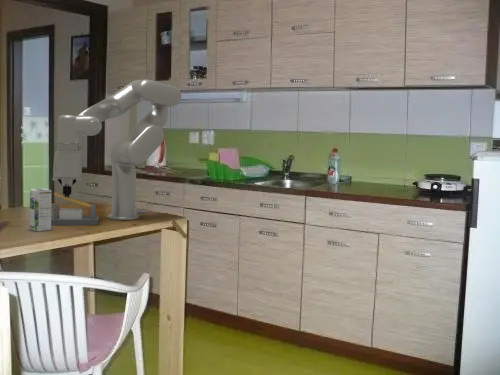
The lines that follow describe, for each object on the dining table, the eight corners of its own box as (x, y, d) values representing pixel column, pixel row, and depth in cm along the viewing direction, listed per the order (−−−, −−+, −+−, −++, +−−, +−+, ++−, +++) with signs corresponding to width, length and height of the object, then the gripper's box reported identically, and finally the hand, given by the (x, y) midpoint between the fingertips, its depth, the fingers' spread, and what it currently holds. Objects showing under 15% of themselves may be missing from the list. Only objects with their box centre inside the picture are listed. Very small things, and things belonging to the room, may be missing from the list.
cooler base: (98, 220, 213) (98, 202, 212) (98, 225, 203) (98, 206, 202) (50, 220, 208) (50, 202, 207) (47, 225, 198) (47, 206, 197)
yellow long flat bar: (93, 208, 208) (95, 205, 208) (93, 209, 205) (95, 207, 205) (54, 194, 204) (55, 191, 204) (53, 195, 201) (54, 192, 201)
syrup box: (28, 229, 190) (28, 188, 189) (45, 227, 194) (45, 187, 193) (35, 231, 186) (35, 190, 185) (52, 230, 190) (52, 189, 189)
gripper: (88, 148, 207) (87, 195, 209) (47, 146, 203) (47, 194, 205) (88, 149, 200) (87, 198, 202) (45, 147, 196) (45, 197, 198)
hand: (67, 196), depth 203 cm, fingers closed
